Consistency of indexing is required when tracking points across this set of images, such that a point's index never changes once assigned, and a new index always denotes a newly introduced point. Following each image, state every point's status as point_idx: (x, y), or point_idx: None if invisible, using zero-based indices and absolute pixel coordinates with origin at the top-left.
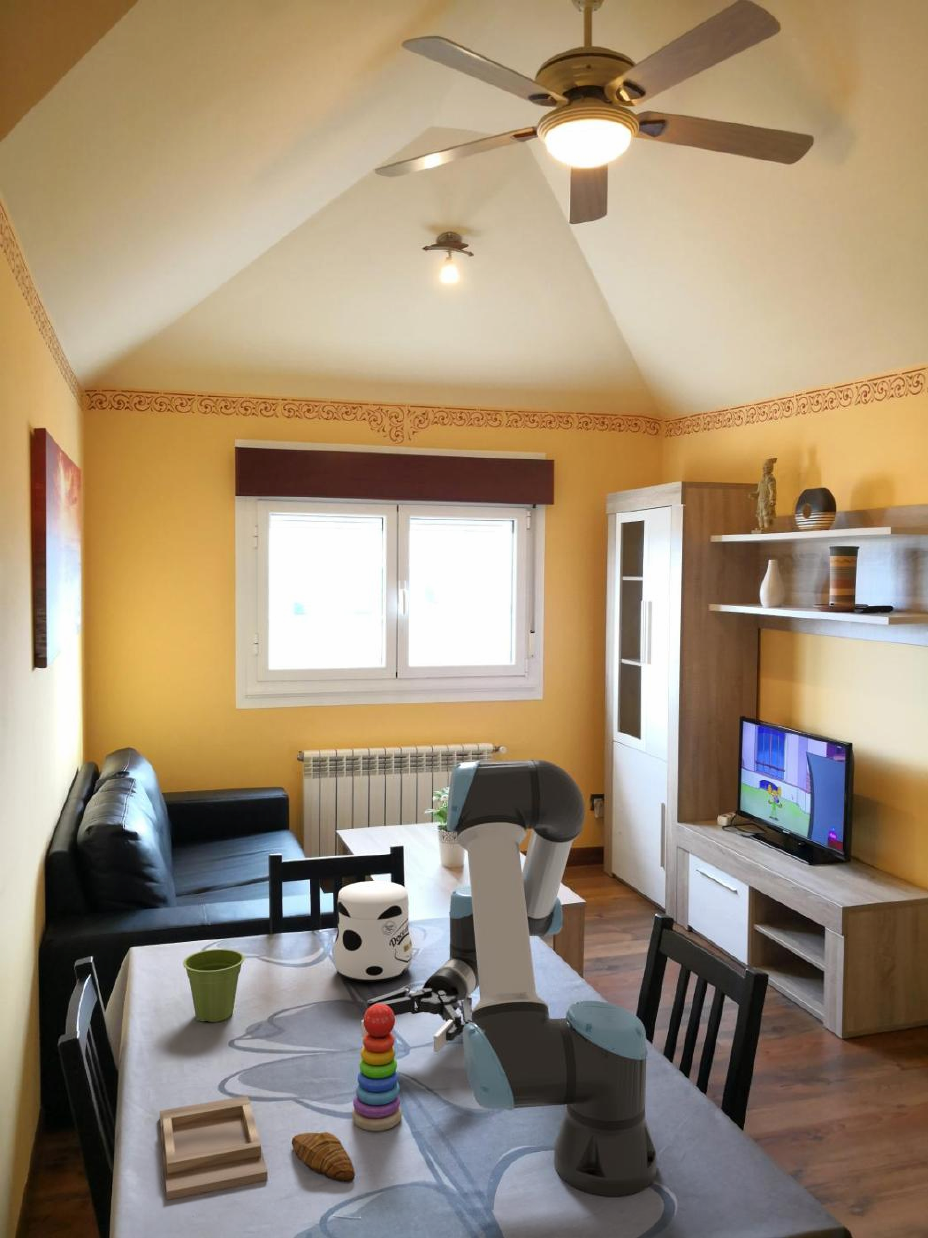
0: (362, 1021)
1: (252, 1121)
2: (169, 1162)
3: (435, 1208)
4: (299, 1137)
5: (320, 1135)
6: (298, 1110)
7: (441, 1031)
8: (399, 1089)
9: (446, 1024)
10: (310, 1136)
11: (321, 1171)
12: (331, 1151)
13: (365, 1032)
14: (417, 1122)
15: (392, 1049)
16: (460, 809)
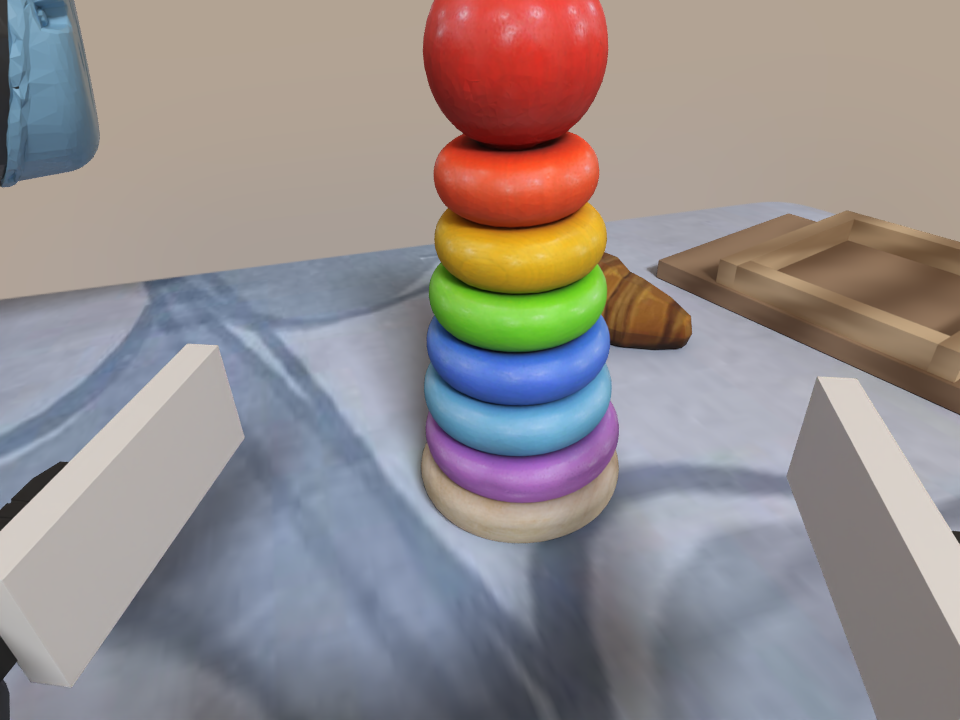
0: (845, 378)
1: (835, 299)
2: (847, 211)
3: (275, 288)
4: (659, 292)
5: None
6: None
7: (146, 391)
8: (425, 395)
9: (69, 485)
10: (618, 270)
11: None
12: None
13: (797, 452)
14: (360, 501)
15: (446, 219)
16: None
